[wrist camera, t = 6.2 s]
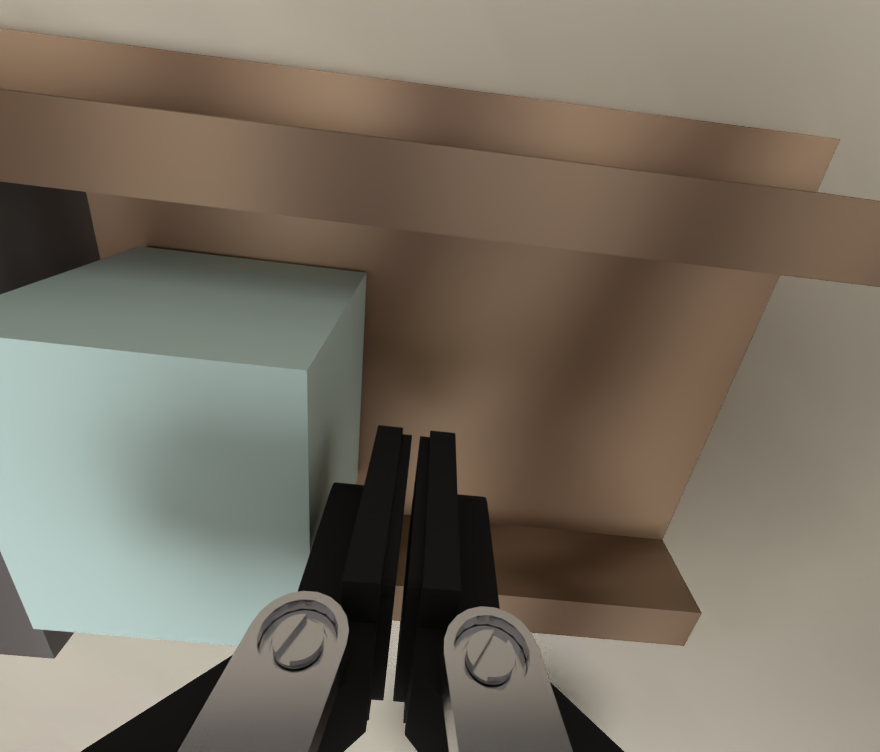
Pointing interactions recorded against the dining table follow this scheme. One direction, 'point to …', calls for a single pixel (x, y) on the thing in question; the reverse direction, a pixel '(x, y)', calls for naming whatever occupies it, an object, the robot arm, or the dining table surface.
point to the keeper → (173, 438)
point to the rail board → (455, 278)
